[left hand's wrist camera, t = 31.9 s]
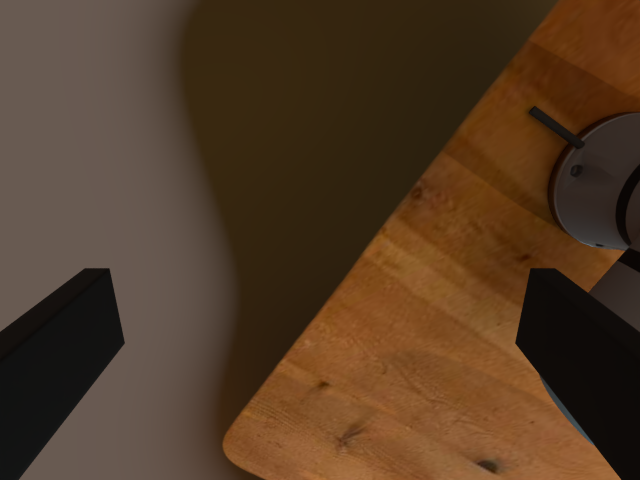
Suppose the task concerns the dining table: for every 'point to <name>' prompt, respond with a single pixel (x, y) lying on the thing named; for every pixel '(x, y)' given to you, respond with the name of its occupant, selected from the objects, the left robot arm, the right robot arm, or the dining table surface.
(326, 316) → the dining table surface
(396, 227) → the dining table surface
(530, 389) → the dining table surface
